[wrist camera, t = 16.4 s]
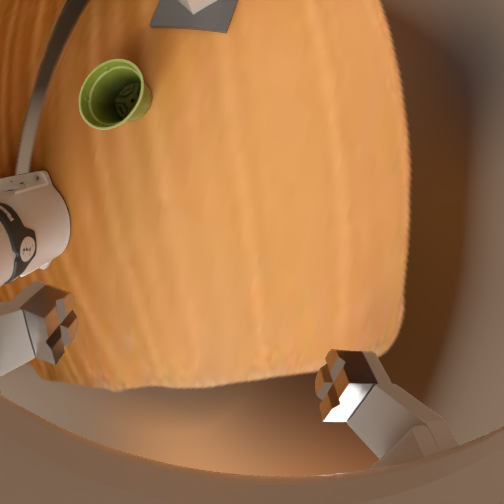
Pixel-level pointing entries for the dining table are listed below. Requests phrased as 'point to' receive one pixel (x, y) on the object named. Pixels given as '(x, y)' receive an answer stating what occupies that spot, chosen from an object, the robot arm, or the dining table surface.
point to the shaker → (196, 4)
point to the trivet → (194, 16)
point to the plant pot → (114, 95)
